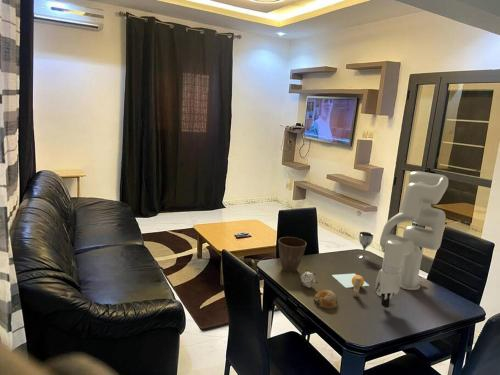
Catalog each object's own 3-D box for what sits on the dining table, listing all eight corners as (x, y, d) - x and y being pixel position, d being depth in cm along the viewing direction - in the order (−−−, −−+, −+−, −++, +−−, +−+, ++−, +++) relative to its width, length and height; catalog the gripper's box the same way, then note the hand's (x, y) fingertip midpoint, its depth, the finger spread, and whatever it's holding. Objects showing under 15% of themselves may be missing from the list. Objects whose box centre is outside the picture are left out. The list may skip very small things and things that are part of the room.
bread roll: (331, 317, 163) (341, 304, 160) (311, 305, 163) (321, 291, 161) (331, 306, 172) (341, 293, 170) (312, 294, 173) (321, 281, 171)
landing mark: (354, 273, 201) (354, 273, 201) (369, 285, 188) (369, 285, 188) (331, 275, 196) (331, 275, 196) (345, 287, 184) (345, 287, 183)
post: (356, 294, 178) (358, 277, 176) (359, 297, 175) (361, 279, 173) (351, 294, 177) (354, 277, 175) (354, 297, 175) (357, 279, 173)
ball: (365, 288, 185) (358, 281, 190) (367, 278, 182) (360, 271, 188) (355, 290, 183) (348, 283, 188) (357, 280, 180) (350, 273, 186)
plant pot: (286, 261, 210) (289, 234, 207) (308, 270, 201) (311, 242, 197) (270, 268, 199) (272, 240, 195) (293, 278, 189) (296, 249, 186)
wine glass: (361, 253, 231) (364, 231, 227) (372, 258, 225) (376, 234, 222) (353, 256, 226) (357, 233, 222) (364, 261, 220) (368, 237, 216)
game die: (305, 295, 180) (300, 284, 174) (299, 282, 187) (294, 271, 181) (322, 288, 180) (317, 276, 174) (315, 275, 187) (310, 263, 181)
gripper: (399, 263, 168) (393, 300, 172) (371, 265, 163) (365, 303, 167) (411, 270, 161) (404, 309, 165) (382, 272, 156) (375, 312, 160)
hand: (384, 306), depth 166 cm, fingers closed
